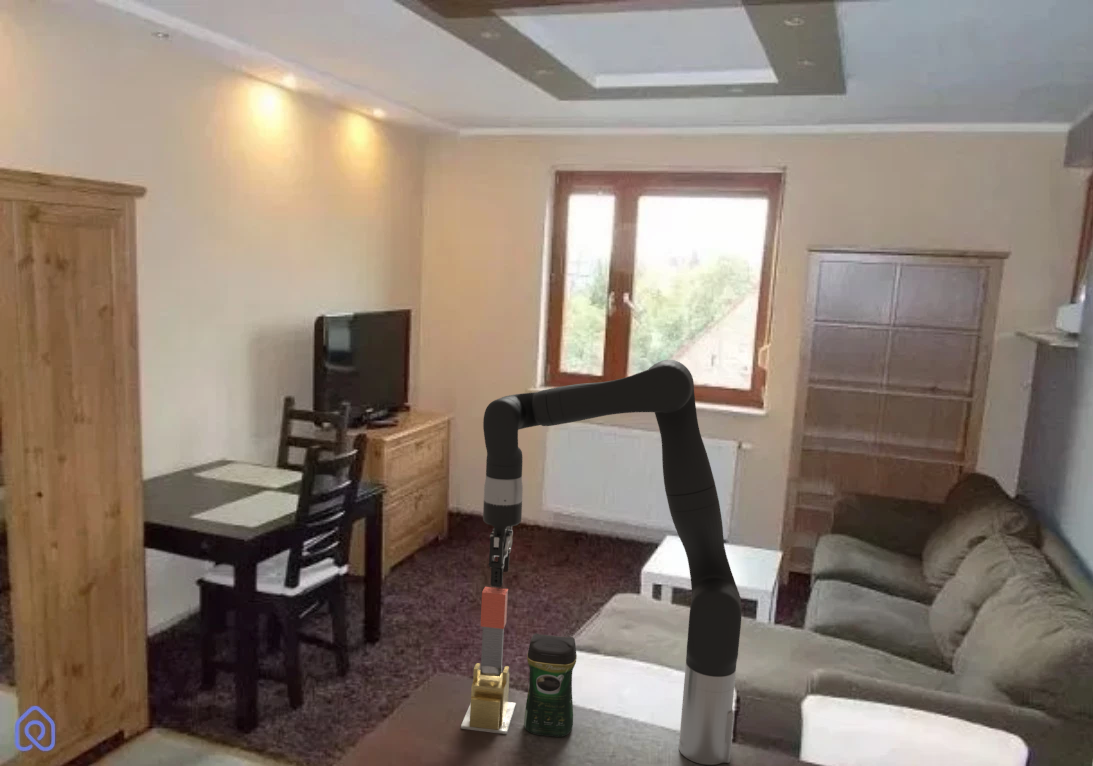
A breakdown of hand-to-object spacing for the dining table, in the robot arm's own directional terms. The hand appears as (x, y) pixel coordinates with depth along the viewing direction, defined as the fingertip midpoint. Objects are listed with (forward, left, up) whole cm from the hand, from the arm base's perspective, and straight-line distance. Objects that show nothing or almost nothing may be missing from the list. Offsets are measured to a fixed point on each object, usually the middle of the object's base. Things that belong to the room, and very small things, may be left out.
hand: (499, 578), depth 161 cm
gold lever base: (0, +2, -28) cm, 28 cm away
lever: (0, +2, -19) cm, 19 cm away
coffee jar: (-12, +3, -28) cm, 31 cm away
